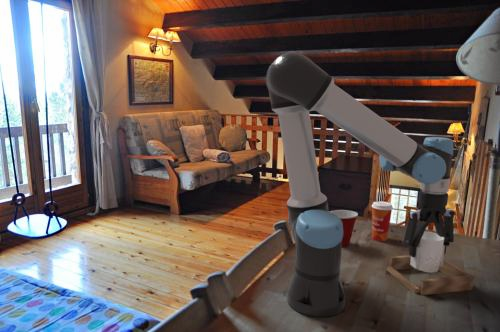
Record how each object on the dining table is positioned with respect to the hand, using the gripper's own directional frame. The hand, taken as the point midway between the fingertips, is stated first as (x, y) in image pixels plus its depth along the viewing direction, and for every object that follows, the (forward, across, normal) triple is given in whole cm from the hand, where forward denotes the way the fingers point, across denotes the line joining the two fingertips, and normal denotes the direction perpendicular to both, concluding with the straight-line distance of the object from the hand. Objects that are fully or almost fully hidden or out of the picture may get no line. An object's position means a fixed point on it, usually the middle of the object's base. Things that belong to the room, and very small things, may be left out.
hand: (426, 265), depth 112 cm
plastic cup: (+4, -13, +30) cm, 33 cm away
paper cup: (+5, +4, +32) cm, 33 cm away
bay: (+4, +1, 0) cm, 4 cm away
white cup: (+1, 0, 0) cm, 1 cm away
